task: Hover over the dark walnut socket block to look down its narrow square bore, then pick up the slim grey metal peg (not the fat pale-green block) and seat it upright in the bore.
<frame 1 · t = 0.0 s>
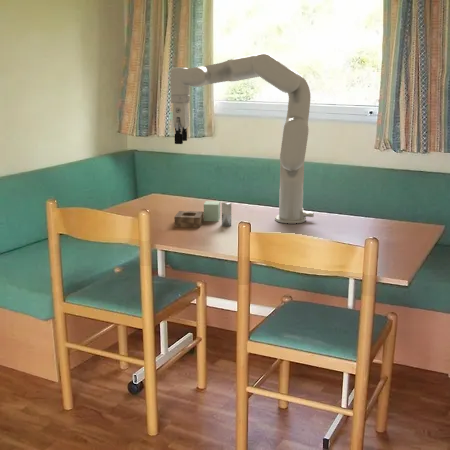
hand: (180, 142, 257), 31 cm above the table, fingers open, 9 cm apart
green block: (212, 219, 261), on the table
socket block: (189, 223, 254), on the table
metal peg: (226, 225, 252), on the table
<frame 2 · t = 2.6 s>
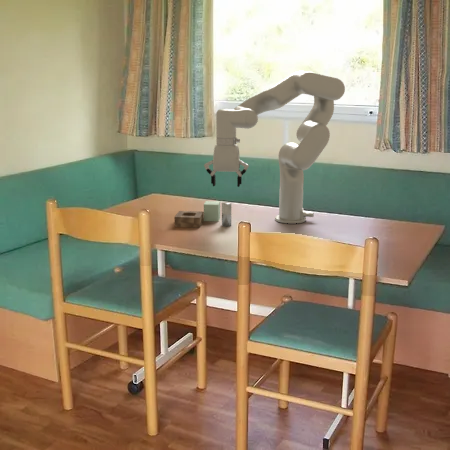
hand: (226, 185, 247), 16 cm above the table, fingers open, 9 cm apart
nothing on the table moved.
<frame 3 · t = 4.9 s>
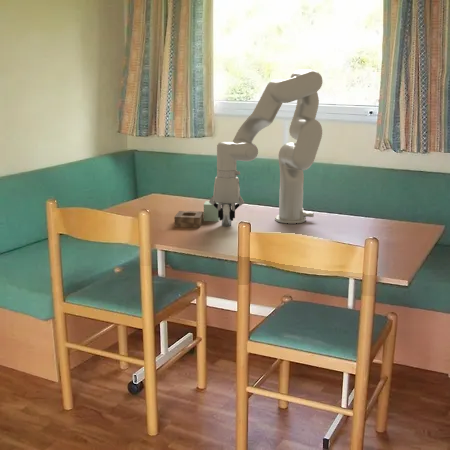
hand: (226, 219, 251), 2 cm above the table, fingers closed on metal peg, 3 cm apart
metal peg: (226, 225, 252), on the table, touching gripper
everything else where it was.
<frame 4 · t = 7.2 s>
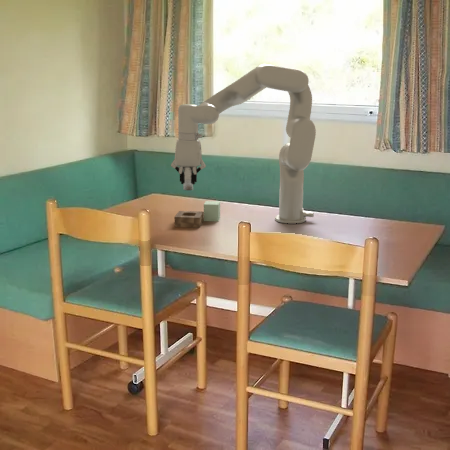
hand: (188, 183, 249), 17 cm above the table, fingers closed on metal peg, 3 cm apart
metal peg: (188, 189, 250), point 14 cm above the table, touching gripper
everything else where it was.
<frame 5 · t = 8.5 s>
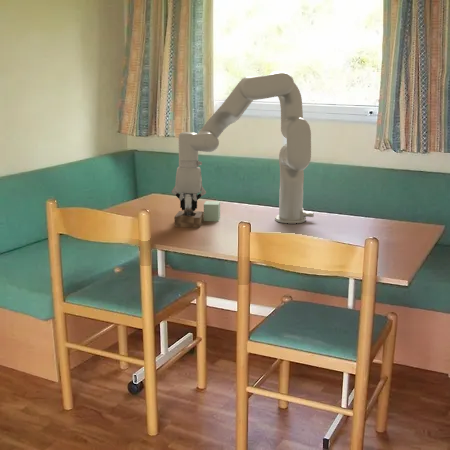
hand: (188, 209, 252), 6 cm above the table, fingers closed on metal peg, 3 cm apart
metal peg: (188, 215, 253), point 3 cm above the table, touching gripper
everything else where it was.
when the fingers open (5 cm above the table, at t = 9.4 s): metal peg drops 2 cm, resting in socket block.
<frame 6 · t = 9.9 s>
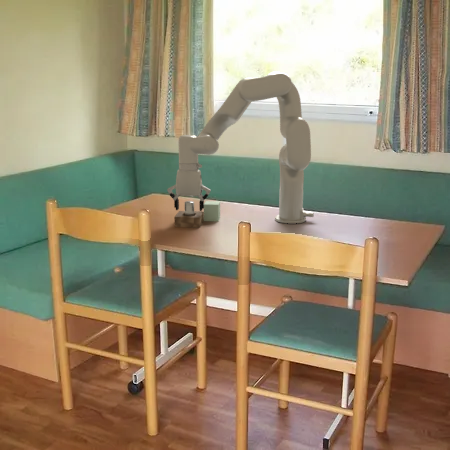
hand: (189, 209, 252), 6 cm above the table, fingers open, 9 cm apart
metal peg: (189, 224, 254), resting in socket block
everything else where it was.
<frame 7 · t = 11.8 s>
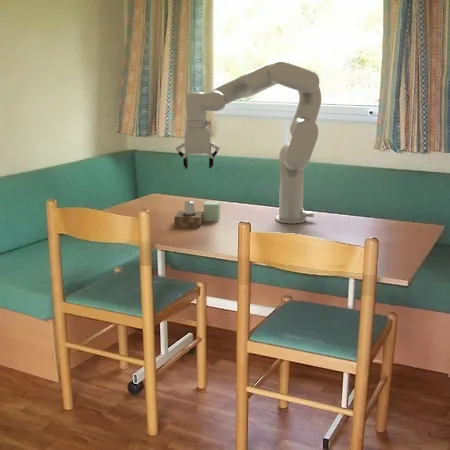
hand: (198, 168, 251), 22 cm above the table, fingers open, 9 cm apart
nothing on the table moved.
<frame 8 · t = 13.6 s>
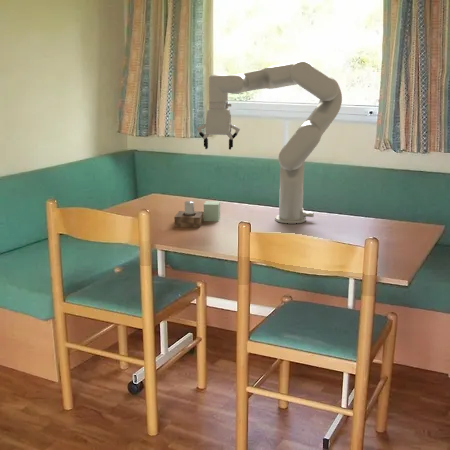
hand: (218, 148, 258), 28 cm above the table, fingers open, 9 cm apart
nothing on the table moved.
at the end: metal peg 0.1 cm off-centre on the socket block, point 0.0 cm above the socket block's base; metal peg tilted 0°; the gripper is holding nothing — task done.
